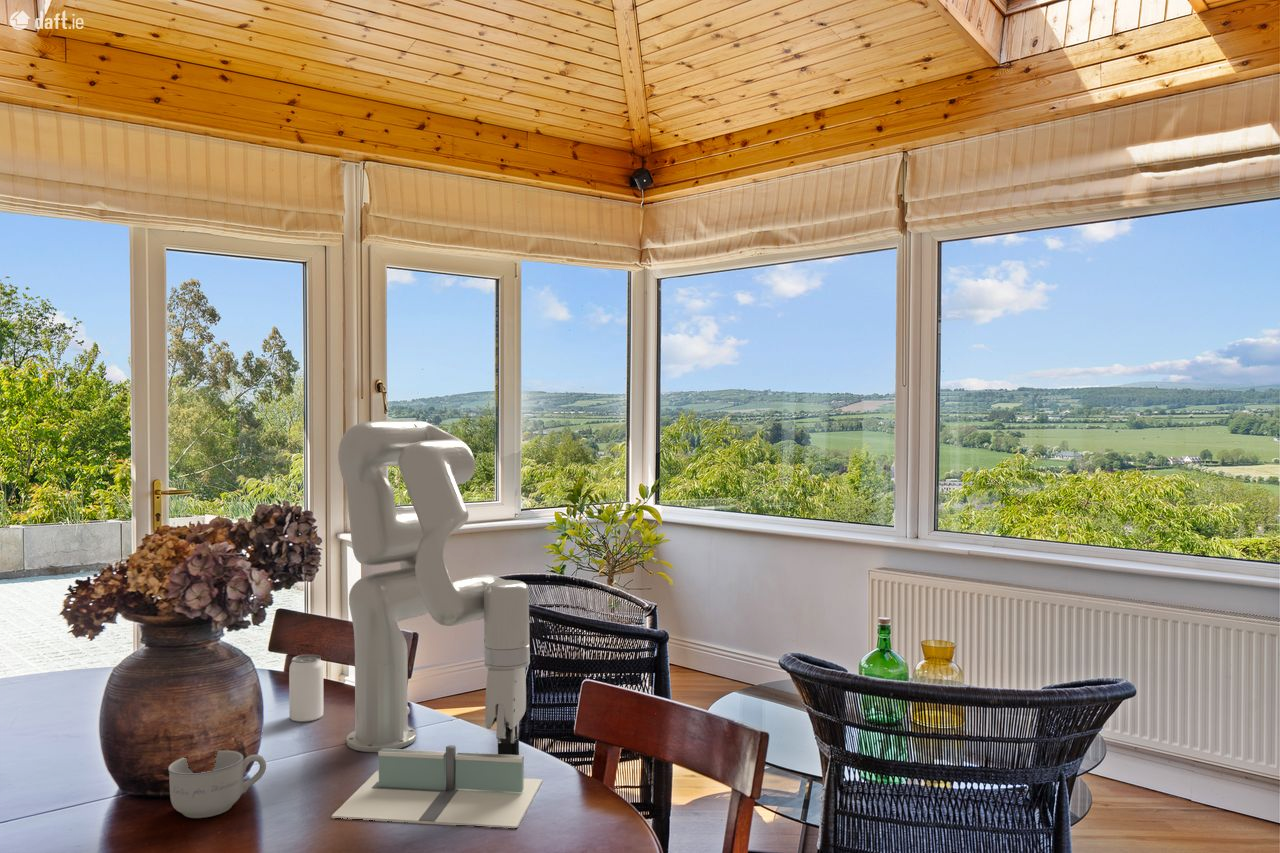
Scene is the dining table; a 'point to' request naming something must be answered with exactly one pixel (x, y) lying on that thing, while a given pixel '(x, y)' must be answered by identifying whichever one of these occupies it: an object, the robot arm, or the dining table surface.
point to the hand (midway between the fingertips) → (508, 764)
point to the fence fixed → (418, 768)
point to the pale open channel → (489, 772)
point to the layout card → (439, 805)
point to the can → (306, 688)
